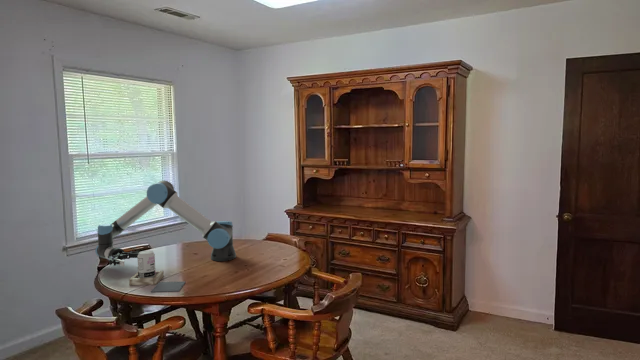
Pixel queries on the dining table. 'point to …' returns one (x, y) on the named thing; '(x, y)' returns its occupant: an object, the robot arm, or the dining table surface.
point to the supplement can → (146, 264)
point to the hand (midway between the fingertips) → (136, 260)
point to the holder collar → (146, 279)
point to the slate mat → (168, 287)
